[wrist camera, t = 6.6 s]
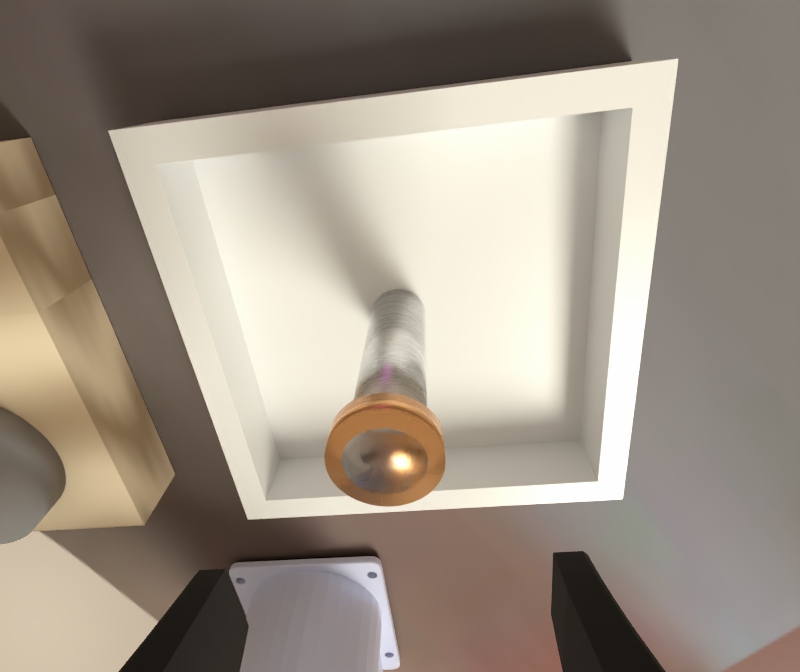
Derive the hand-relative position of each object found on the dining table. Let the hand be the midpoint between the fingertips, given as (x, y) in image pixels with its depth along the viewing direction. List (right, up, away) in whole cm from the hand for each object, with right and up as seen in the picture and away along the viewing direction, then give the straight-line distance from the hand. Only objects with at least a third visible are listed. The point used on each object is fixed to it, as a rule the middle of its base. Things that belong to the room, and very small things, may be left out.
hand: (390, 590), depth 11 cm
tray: (+1, +7, +8) cm, 11 cm away
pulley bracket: (-16, +5, +10) cm, 20 cm away
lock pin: (0, +6, +8) cm, 10 cm away
